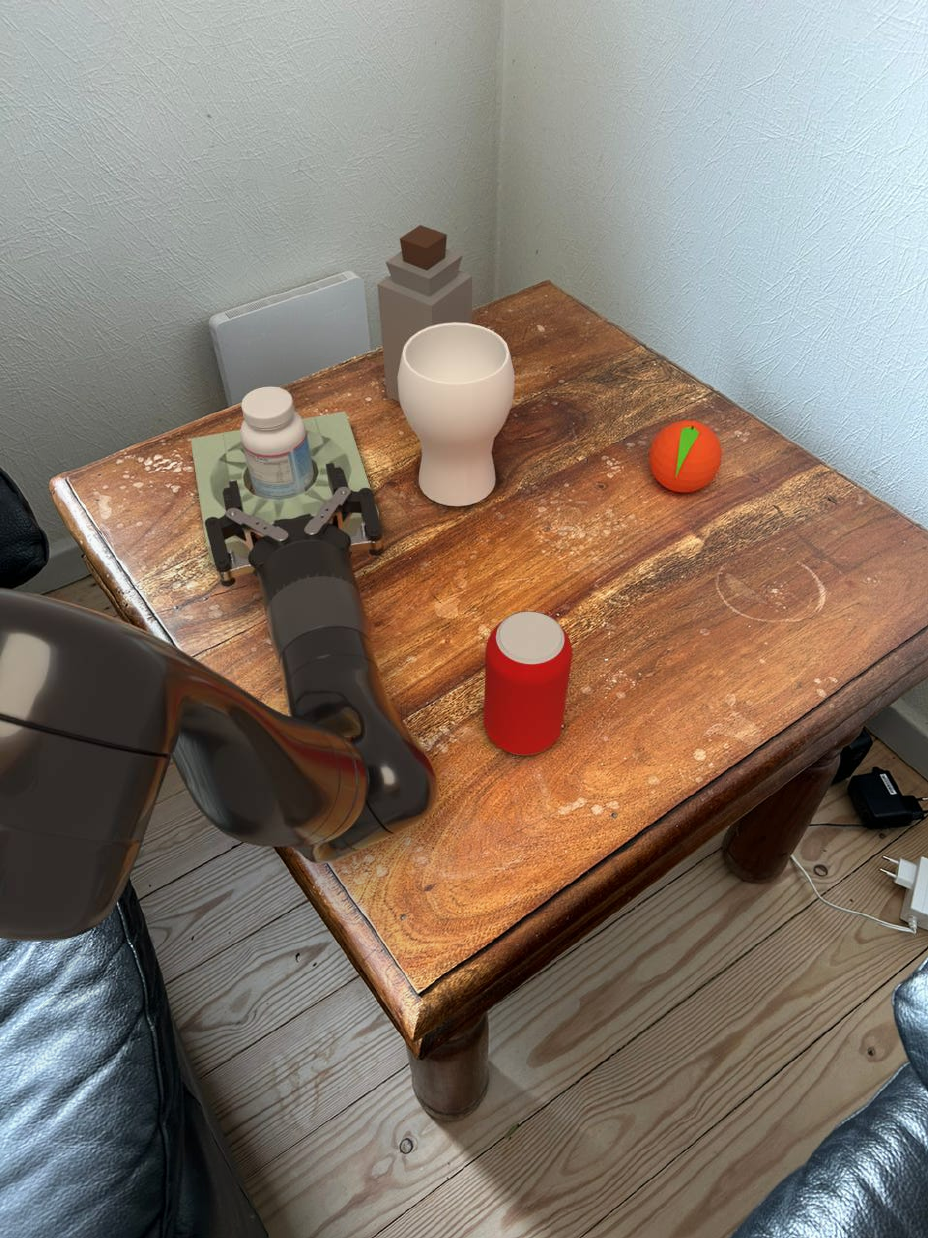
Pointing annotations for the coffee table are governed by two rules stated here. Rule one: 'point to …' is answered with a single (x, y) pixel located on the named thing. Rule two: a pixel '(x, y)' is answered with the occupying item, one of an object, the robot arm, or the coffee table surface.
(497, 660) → the beverage can
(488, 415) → the cup
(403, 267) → the perfume bottle
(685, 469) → the clementine
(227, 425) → the coffee table surface
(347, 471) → the hole plate
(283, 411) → the pill bottle
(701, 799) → the coffee table surface
